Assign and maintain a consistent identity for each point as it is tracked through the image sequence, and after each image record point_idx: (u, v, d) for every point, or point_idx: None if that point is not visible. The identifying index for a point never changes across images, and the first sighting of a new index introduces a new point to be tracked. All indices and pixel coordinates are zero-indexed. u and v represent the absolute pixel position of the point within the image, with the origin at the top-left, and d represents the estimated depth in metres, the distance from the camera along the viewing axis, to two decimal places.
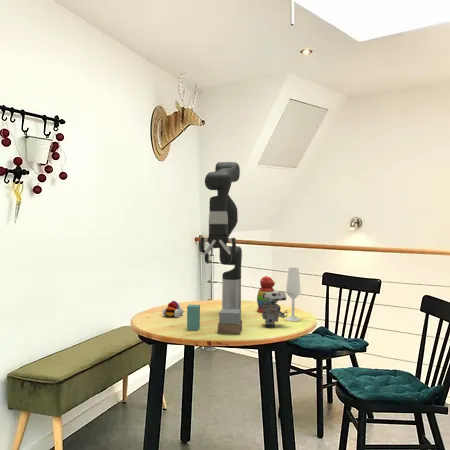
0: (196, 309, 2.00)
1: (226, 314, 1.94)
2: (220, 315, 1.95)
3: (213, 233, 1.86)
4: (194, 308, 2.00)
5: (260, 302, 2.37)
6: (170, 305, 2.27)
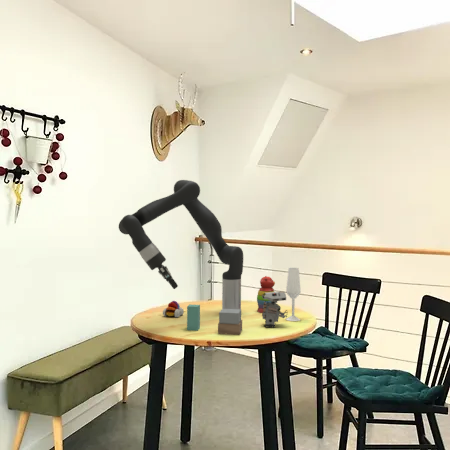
0: (196, 309, 2.00)
1: (226, 314, 1.94)
2: (220, 315, 1.95)
3: None
4: (194, 308, 2.00)
5: (260, 302, 2.37)
6: (170, 305, 2.27)
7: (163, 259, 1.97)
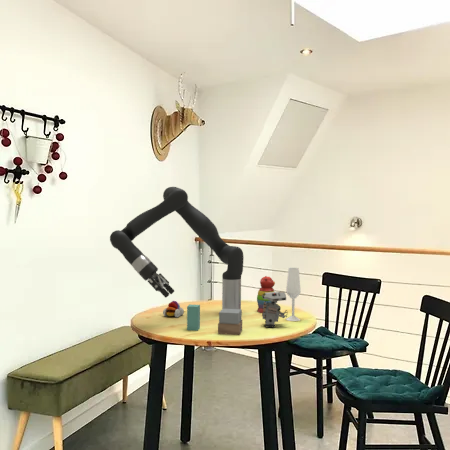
0: (196, 309, 2.00)
1: (226, 314, 1.94)
2: (220, 315, 1.95)
3: None
4: (194, 308, 2.00)
5: (260, 302, 2.37)
6: (170, 305, 2.27)
7: (153, 269, 2.02)
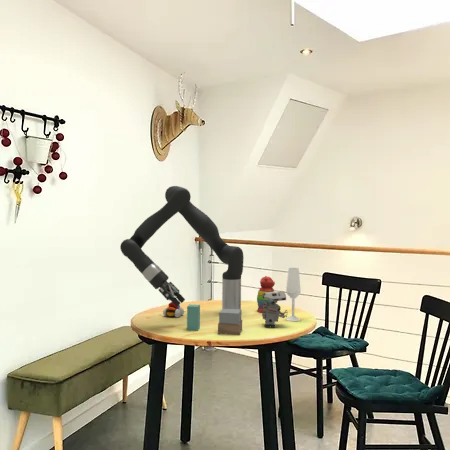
0: (196, 309, 2.00)
1: (226, 314, 1.94)
2: (220, 315, 1.95)
3: None
4: (194, 308, 2.00)
5: (260, 302, 2.37)
6: (171, 305, 2.27)
7: (164, 278, 2.02)
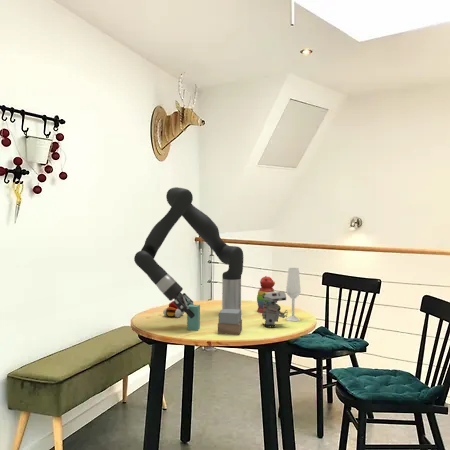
0: (196, 309, 2.00)
1: (225, 314, 1.94)
2: (219, 315, 1.95)
3: None
4: (194, 308, 2.00)
5: (260, 302, 2.37)
6: (171, 305, 2.27)
7: (178, 290, 2.01)
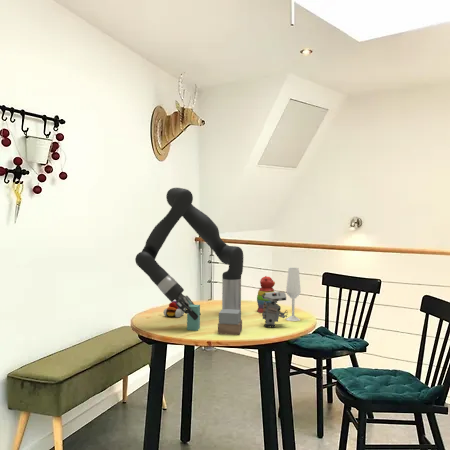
0: (196, 309, 2.00)
1: (226, 314, 1.94)
2: (220, 315, 1.95)
3: None
4: (194, 308, 2.00)
5: (260, 302, 2.37)
6: (171, 305, 2.27)
7: (179, 290, 2.01)
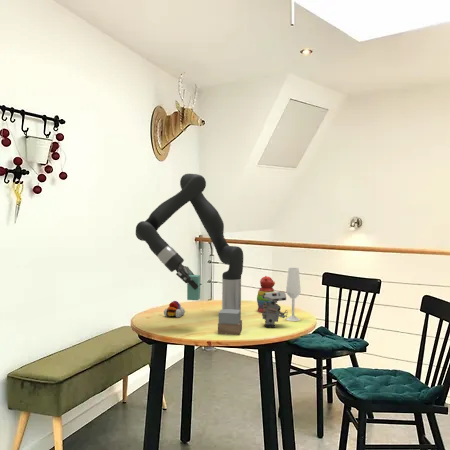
0: (196, 279, 2.00)
1: (225, 314, 1.94)
2: (219, 315, 1.95)
3: None
4: (194, 278, 2.00)
5: (260, 302, 2.37)
6: (171, 305, 2.27)
7: (179, 260, 2.00)
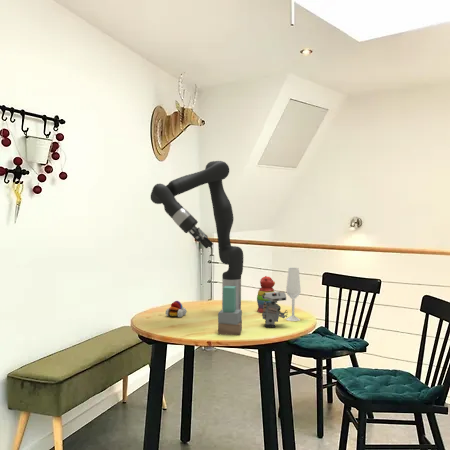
0: (232, 290, 1.95)
1: (225, 314, 1.94)
2: (219, 315, 1.95)
3: None
4: (230, 289, 1.95)
5: (260, 302, 2.37)
6: (173, 305, 2.27)
7: (194, 221, 2.08)
